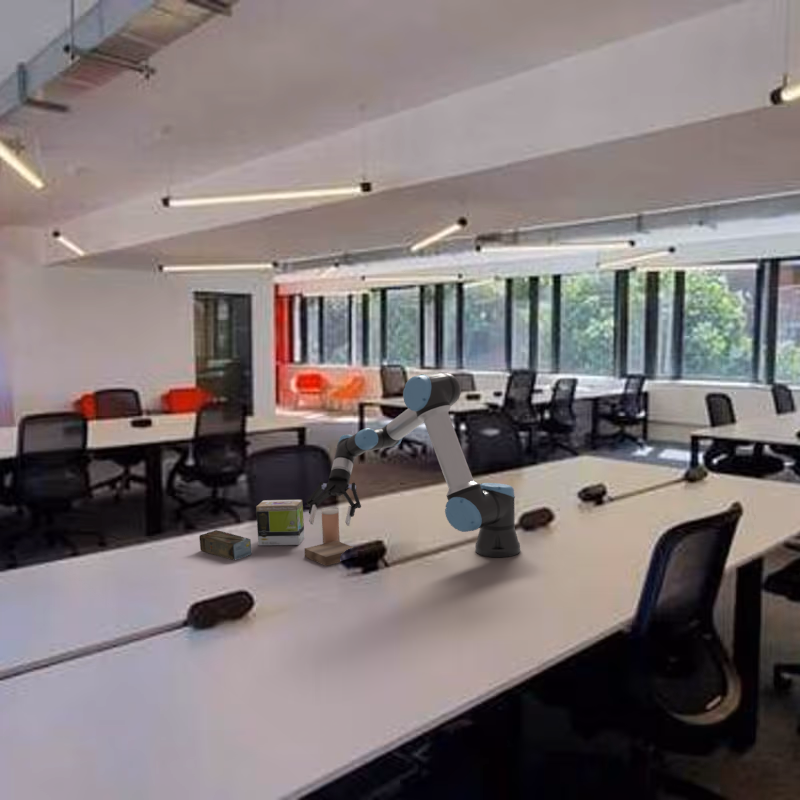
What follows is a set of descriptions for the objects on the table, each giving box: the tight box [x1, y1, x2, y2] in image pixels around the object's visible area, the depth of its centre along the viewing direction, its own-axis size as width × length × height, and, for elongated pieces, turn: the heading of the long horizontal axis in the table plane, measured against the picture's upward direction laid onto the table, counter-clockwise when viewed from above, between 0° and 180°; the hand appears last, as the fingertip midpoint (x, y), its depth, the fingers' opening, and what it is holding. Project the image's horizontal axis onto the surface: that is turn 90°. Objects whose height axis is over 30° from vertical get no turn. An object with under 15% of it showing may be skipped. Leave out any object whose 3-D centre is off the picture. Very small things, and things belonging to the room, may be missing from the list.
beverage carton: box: [199, 529, 252, 561], centre depth 271 cm, size 8×19×7 cm, turn 51°
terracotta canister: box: [321, 506, 341, 544], centre depth 277 cm, size 6×6×13 cm
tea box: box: [255, 499, 305, 546], centre depth 282 cm, size 15×10×15 cm, turn 84°
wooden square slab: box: [304, 541, 354, 566], centre depth 263 cm, size 13×13×3 cm
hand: (328, 523), depth 276 cm, fingers open, 13 cm apart
